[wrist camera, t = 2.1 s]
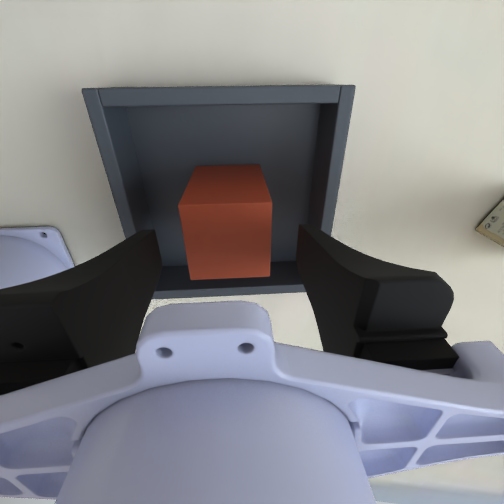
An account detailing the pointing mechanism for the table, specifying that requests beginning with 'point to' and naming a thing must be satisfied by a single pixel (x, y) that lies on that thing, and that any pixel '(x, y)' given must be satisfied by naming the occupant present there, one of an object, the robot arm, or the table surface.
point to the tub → (222, 153)
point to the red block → (227, 222)
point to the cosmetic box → (494, 225)
